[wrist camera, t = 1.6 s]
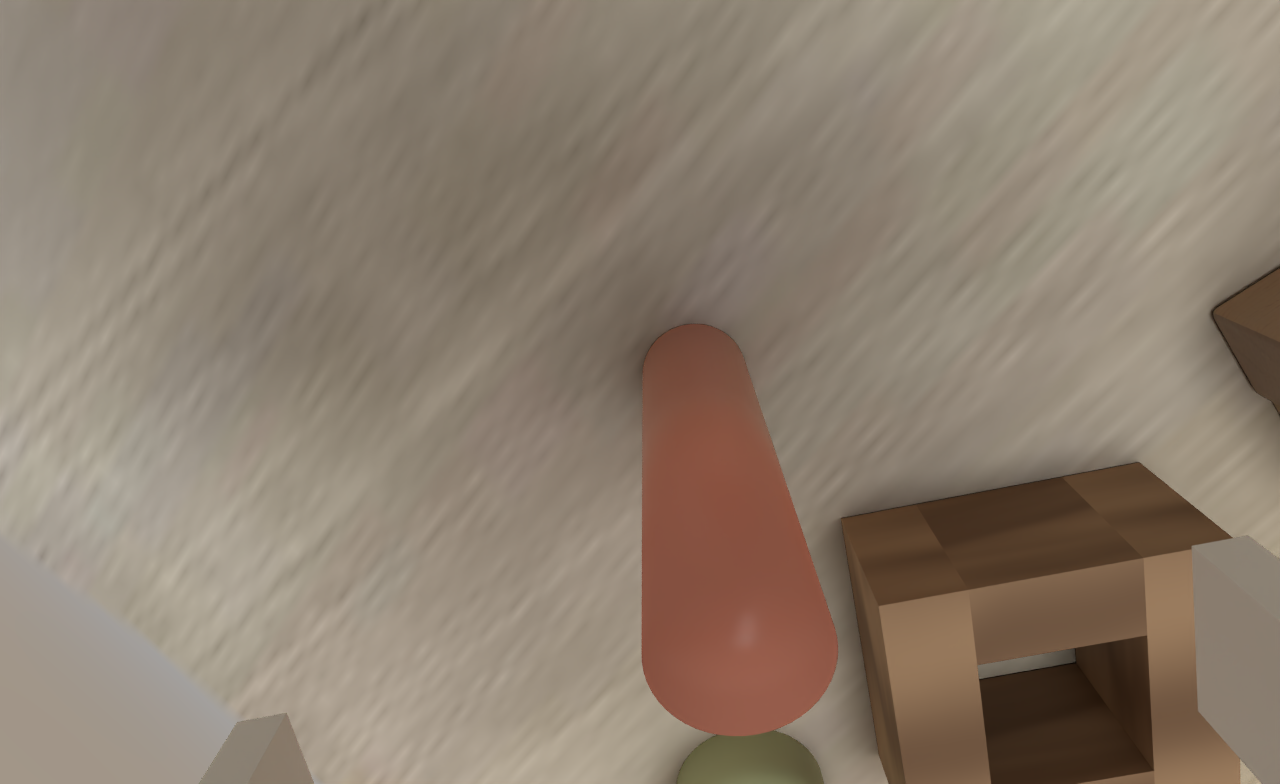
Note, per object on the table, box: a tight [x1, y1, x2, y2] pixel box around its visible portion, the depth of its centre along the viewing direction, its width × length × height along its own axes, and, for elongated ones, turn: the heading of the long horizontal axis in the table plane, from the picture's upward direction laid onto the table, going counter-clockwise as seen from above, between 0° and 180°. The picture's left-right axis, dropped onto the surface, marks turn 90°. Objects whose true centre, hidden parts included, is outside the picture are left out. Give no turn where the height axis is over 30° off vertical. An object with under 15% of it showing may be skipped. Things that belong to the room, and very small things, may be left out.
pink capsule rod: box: [642, 324, 838, 736], centre depth 21 cm, size 3×3×14 cm
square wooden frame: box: [841, 463, 1240, 784], centre depth 28 cm, size 9×9×5 cm
